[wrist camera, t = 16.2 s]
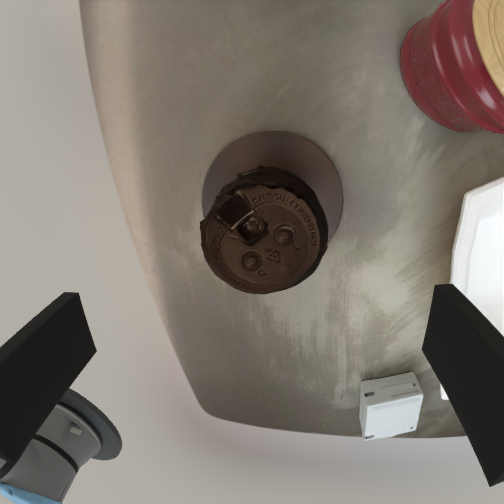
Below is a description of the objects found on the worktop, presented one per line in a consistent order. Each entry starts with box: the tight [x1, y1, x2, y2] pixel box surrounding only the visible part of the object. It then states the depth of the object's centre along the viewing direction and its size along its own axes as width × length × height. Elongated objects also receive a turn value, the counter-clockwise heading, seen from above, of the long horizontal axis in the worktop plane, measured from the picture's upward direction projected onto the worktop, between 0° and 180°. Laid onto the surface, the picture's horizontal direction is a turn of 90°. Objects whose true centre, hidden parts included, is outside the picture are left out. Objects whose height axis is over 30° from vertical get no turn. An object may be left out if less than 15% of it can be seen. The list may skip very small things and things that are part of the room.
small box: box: [359, 371, 424, 441], centre depth 37 cm, size 8×8×5 cm
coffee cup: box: [200, 165, 329, 294], centre depth 25 cm, size 9×8×13 cm
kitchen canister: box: [400, 0, 504, 134], centre depth 17 cm, size 13×13×18 cm
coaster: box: [202, 131, 343, 244], centre depth 32 cm, size 14×14×1 cm
